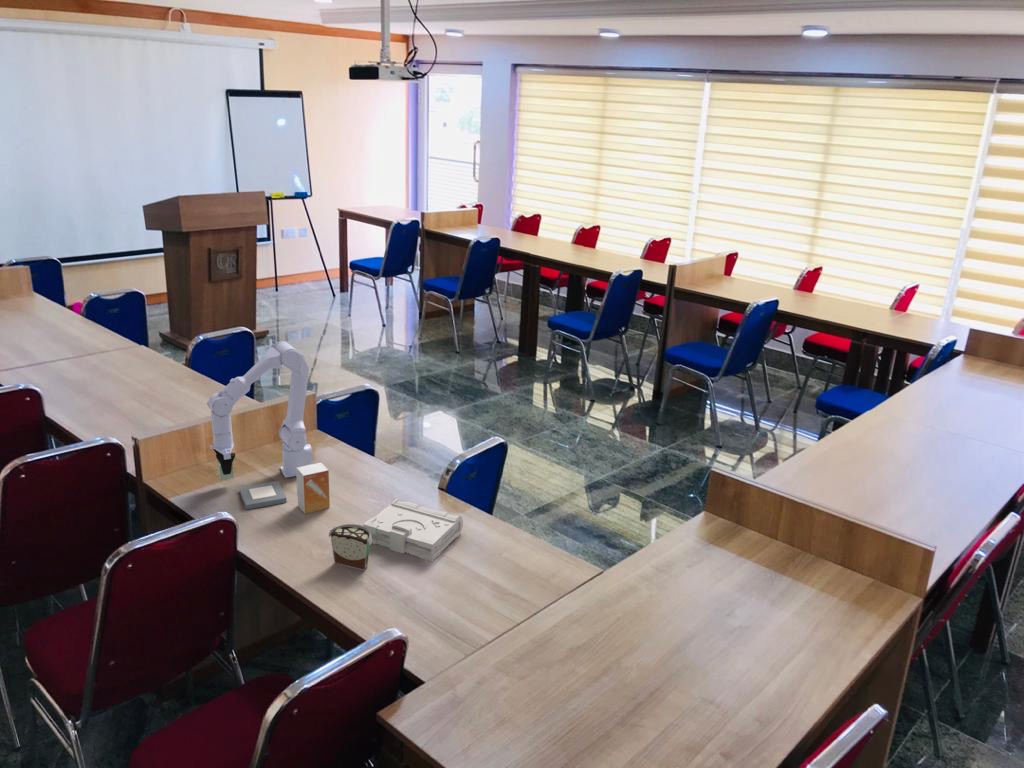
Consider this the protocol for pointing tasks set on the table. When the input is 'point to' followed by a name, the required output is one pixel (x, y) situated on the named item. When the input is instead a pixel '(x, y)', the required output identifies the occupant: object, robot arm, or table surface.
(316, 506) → the small box
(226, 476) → the sage block
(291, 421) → the robot arm
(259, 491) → the slate base
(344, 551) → the food container
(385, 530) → the book
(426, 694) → the table surface
